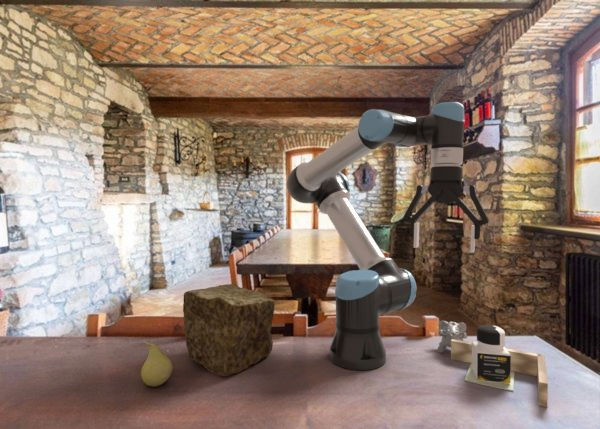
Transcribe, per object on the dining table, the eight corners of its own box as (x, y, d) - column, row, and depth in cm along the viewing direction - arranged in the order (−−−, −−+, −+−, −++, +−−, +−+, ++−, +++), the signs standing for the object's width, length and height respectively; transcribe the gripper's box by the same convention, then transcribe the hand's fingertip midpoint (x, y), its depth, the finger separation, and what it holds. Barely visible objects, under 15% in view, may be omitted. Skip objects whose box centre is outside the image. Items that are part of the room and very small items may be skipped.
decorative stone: (226, 276, 116) (281, 283, 106) (226, 340, 116) (280, 354, 107) (172, 288, 97) (231, 299, 88) (172, 365, 98) (231, 384, 88)
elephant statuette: (441, 358, 103) (442, 331, 102) (428, 339, 115) (429, 315, 114) (475, 358, 102) (476, 331, 102) (458, 340, 114) (460, 315, 114)
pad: (464, 380, 89) (464, 379, 89) (470, 364, 98) (470, 363, 98) (513, 391, 84) (513, 390, 84) (514, 373, 92) (514, 372, 92)
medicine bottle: (477, 381, 88) (477, 331, 88) (471, 368, 95) (471, 321, 95) (510, 384, 86) (511, 333, 86) (502, 371, 93) (503, 323, 93)
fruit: (178, 380, 90) (177, 331, 90) (156, 395, 83) (155, 342, 83) (155, 376, 93) (154, 328, 92) (132, 391, 86) (131, 339, 85)
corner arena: (439, 382, 88) (439, 361, 88) (451, 357, 103) (451, 339, 102) (547, 407, 77) (547, 383, 77) (544, 375, 92) (544, 355, 91)
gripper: (393, 166, 97) (390, 247, 99) (502, 163, 85) (497, 256, 86) (400, 168, 104) (398, 243, 105) (503, 166, 91) (498, 252, 93)
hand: (443, 249), depth 96 cm, fingers open, 13 cm apart
